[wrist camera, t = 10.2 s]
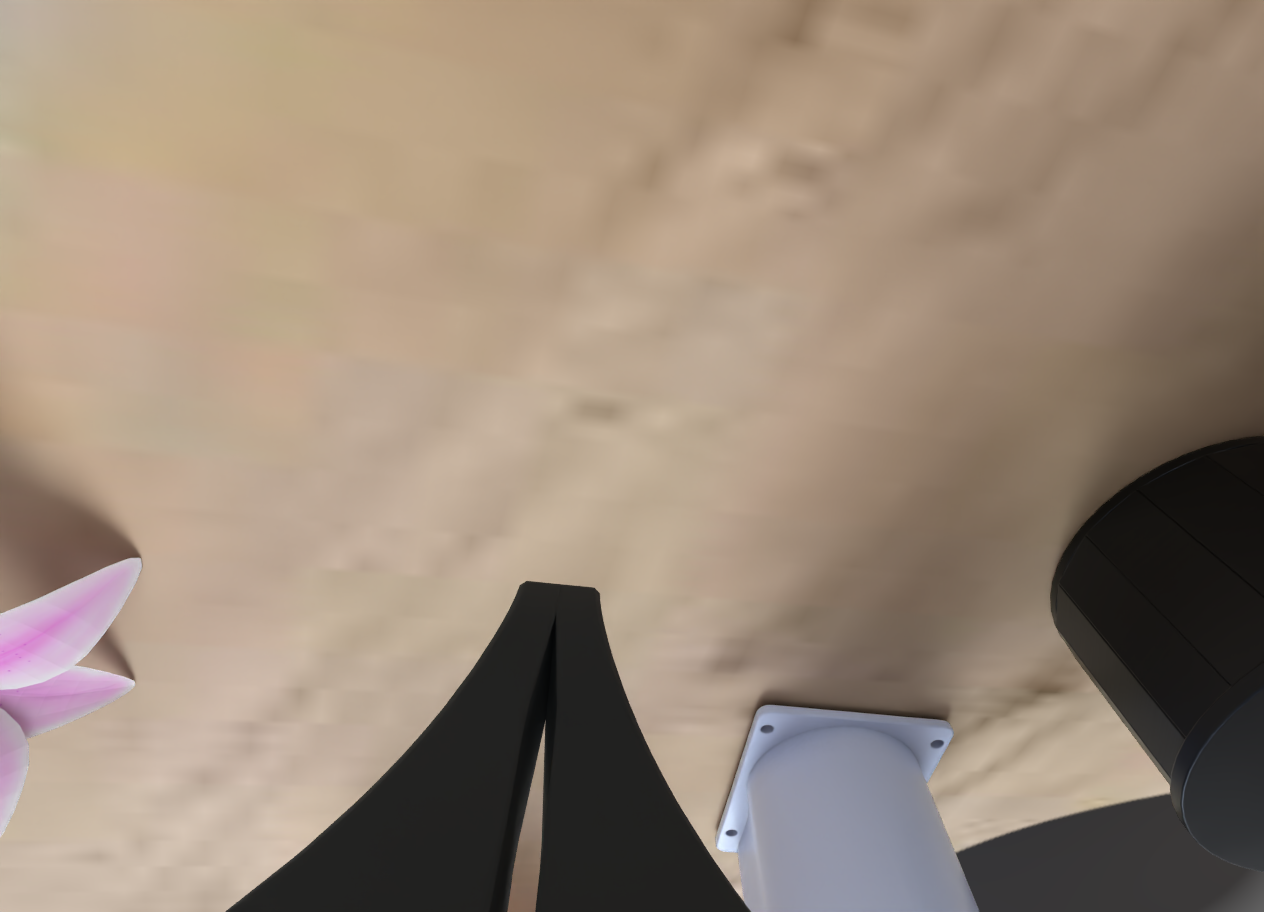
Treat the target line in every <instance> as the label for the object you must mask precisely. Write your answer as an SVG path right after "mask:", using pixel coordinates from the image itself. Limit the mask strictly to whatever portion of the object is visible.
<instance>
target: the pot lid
mask: <svg viewBox="0 0 1264 912" xmlns="http://www.w3.org/2000/svg"><path fill="white" fill-rule="evenodd" d="M1170 792H1171V798H1172V804H1173V807H1174V809H1175V811H1176V813H1177V816H1178V818H1179V819H1180V821H1181V822H1182V824H1183V825H1184V826H1185V828H1186V829H1187V830H1188V832H1189V833H1190V834H1191V835H1192V837H1193V838H1194V839H1195V840H1196V842H1197V843H1198V844H1200V845H1201V846H1202V847H1204V848H1205V849H1206V850H1207V851H1209V852H1210V853H1211V854H1213V855H1215V856H1217V857H1219V858H1220V859H1222V860H1224V861H1226V862H1229V863H1232V864H1235V865H1237V866H1240V867H1243V868H1247V869H1252V870H1256V871H1261V872H1264V661H1263V662H1261V663H1260V664H1259V665H1257V666H1256V667H1255V668H1253V669H1252V670H1251V671H1249V672H1248V673H1247V674H1245V675H1244V676H1243V677H1241V678H1240V679H1239V680H1238V681H1237V682H1235V683H1234V684H1233V685H1232V686H1231V687H1230V688H1229V689H1228V690H1227V691H1225V692H1224V693H1223V694H1222V695H1221V696H1220V697H1219V698H1218V699H1217V700H1216V701H1215V702H1214V703H1213V704H1212V705H1211V706H1210V707H1209V708H1208V710H1207V711H1206V712H1205V713H1204V714H1203V715H1202V716H1201V717H1200V718H1199V720H1198V721H1197V722H1196V724H1195V725H1194V727H1193V728H1192V730H1191V731H1190V732H1189V734H1188V735H1187V737H1186V738H1185V740H1184V742H1183V744H1182V746H1181V748H1180V750H1179V752H1178V754H1177V756H1176V759H1175V762H1174V766H1173V769H1172V772H1171V782H1170Z"/></svg>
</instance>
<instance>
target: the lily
mask: <svg viewBox="0 0 1264 912" xmlns="http://www.w3.org/2000/svg"><path fill="white" fill-rule="evenodd" d="M141 569H142V563H141V558H128V559H126V560H123V561H120V562H118V563H115V564H113V565H110V566H107V567H105V568H103V569H101V570H99V571H96V572H94V573H92V574H90V575H88V576H86V577H83V578H81V579H79V580H77V581H75V582H73V583H70V584H68V585H66V586H64V587H62V588H60V589H57V590H55V591H53V592H51V593H49V594H47V595H44V596H42V597H40V598H38V599H36V600H33V601H31V602H28V603H26V604H23V605H21V606H19V607H16V608H14V609H11V610H9V611H6V612H4V613H1V614H0V837H1V836H2V834H3V833H4V831H5V829H6V827H7V825H8V823H9V821H10V819H11V817H12V815H13V813H14V810H15V808H16V805H17V802H18V800H19V797H20V794H21V792H22V789H23V786H24V782H25V778H26V774H27V770H28V766H29V744H28V741H27V738H31V737H34V736H36V735H39V734H42V733H45V732H48V731H50V730H53V729H56V728H58V727H61V726H63V725H65V724H67V723H70V722H72V721H74V720H77V719H79V718H81V717H83V716H86V715H88V714H90V713H92V712H94V711H96V710H98V709H100V708H102V707H104V706H106V705H107V704H109V703H111V702H113V701H115V700H116V699H118V698H120V697H121V696H123V695H125V694H126V693H128V692H129V691H130V690H131V689H132V688H133V687H134V686H135V682H134V680H131V679H129V678H126V677H123V676H120V675H116V674H112V673H109V672H104V671H100V670H96V669H91V668H86V667H81V666H75V664H76V663H78V662H79V661H80V660H81V659H82V658H84V657H85V656H86V655H87V654H88V653H89V652H90V651H91V649H92V648H93V647H94V646H95V645H96V643H97V642H98V641H99V640H100V639H101V637H102V636H103V635H104V634H105V632H106V631H107V629H108V628H109V626H110V625H111V623H112V622H113V620H114V619H115V617H116V616H117V614H118V613H119V611H120V610H121V608H122V607H123V605H124V603H125V601H126V600H127V598H128V596H129V594H130V593H131V591H132V589H133V587H134V586H135V584H136V581H137V579H138V576H139V574H140V571H141Z"/></svg>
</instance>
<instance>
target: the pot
mask: <svg viewBox="0 0 1264 912" xmlns="http://www.w3.org/2000/svg"><path fill="white" fill-rule="evenodd" d="M1051 612H1052V616H1053V620H1054V624H1055V626H1056V628H1057V630H1058V632H1059V634H1060V636H1061V637H1062V639H1063V640H1064V641H1065V642H1066V644H1067V646H1068V647H1069V649H1070V650H1071V652H1072V654H1073V655H1074V657H1075V659H1076V660H1077V661H1078V663H1079V664H1080V665H1081V667H1082V668H1083V669H1084V671H1085V672H1086V673H1087V675H1088V676H1089V677H1090V679H1091V680H1092V681H1093V683H1094V684H1095V685H1096V687H1097V688H1098V689H1099V691H1100V692H1101V693H1102V695H1103V696H1104V697H1105V699H1106V700H1107V701H1108V703H1109V704H1110V705H1111V707H1112V708H1113V709H1114V711H1115V712H1116V713H1117V715H1118V716H1119V717H1120V719H1121V720H1122V722H1123V723H1124V724H1125V726H1126V727H1127V728H1128V730H1129V731H1130V732H1131V734H1132V735H1133V736H1134V738H1135V739H1136V740H1137V742H1138V743H1139V744H1140V746H1141V747H1142V748H1143V750H1144V751H1145V752H1146V754H1147V755H1148V756H1149V758H1150V759H1151V760H1152V762H1153V763H1154V764H1155V766H1156V767H1157V768H1158V770H1159V771H1160V772H1161V774H1162V775H1163V776H1164V778H1165V779H1166V780H1167V782H1168V783H1169V784H1170V782H1171V772H1172V769H1173V766H1174V762H1175V759H1176V756H1177V754H1178V752H1179V750H1180V748H1181V746H1182V744H1183V742H1184V740H1185V738H1186V737H1187V735H1188V734H1189V732H1190V731H1191V730H1192V728H1193V727H1194V725H1195V724H1196V722H1197V721H1198V720H1199V718H1200V717H1201V716H1202V715H1203V714H1204V713H1205V712H1206V711H1207V710H1208V708H1209V707H1210V706H1211V705H1212V704H1213V703H1214V702H1215V701H1216V700H1217V699H1218V698H1219V697H1220V696H1221V695H1222V694H1223V693H1224V692H1225V691H1227V690H1228V689H1229V688H1230V687H1231V686H1232V685H1233V684H1234V683H1235V682H1237V681H1238V680H1239V679H1240V678H1241V677H1243V676H1244V675H1245V674H1247V673H1248V672H1249V671H1251V670H1252V669H1253V668H1255V667H1256V666H1257V665H1259V664H1260V663H1261V662H1263V661H1264V436H1261V437H1250V438H1244V439H1238V440H1232V441H1228V442H1224V443H1220V444H1216V445H1212V446H1209V447H1205V448H1203V449H1200V450H1197V451H1194V452H1191V453H1189V454H1186V455H1183V456H1181V457H1179V458H1177V459H1175V460H1172V461H1170V462H1168V463H1166V464H1164V465H1161V466H1160V467H1158V468H1156V469H1154V470H1153V471H1151V472H1149V473H1147V474H1145V475H1144V476H1142V477H1140V478H1139V479H1137V480H1136V481H1134V482H1133V483H1131V484H1130V485H1128V486H1127V487H1126V488H1124V489H1123V490H1121V491H1120V492H1119V493H1117V494H1116V495H1115V496H1114V497H1113V498H1111V499H1110V500H1109V501H1108V502H1106V503H1105V504H1104V505H1103V506H1102V507H1101V508H1100V509H1099V510H1098V511H1097V512H1096V513H1095V514H1094V515H1093V516H1092V517H1091V518H1090V519H1089V520H1088V521H1087V522H1086V523H1085V524H1084V526H1083V527H1082V528H1081V529H1080V531H1079V532H1078V533H1077V534H1076V535H1075V537H1074V538H1073V540H1072V541H1071V543H1070V544H1069V546H1068V548H1067V549H1066V551H1065V552H1064V554H1063V557H1062V559H1061V561H1060V563H1059V565H1058V567H1057V570H1056V573H1055V576H1054V580H1053V583H1052V591H1051Z"/></svg>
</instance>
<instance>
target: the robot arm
mask: <svg viewBox="0 0 1264 912" xmlns="http://www.w3.org/2000/svg"><path fill="white" fill-rule="evenodd" d="M545 720H546V722H545ZM544 724H545V753H544V786H543V819H542V847H541V862H540V875H539V883H538V892H537V901H536V910H535V912H979V909H978V907H977V904H976V902H975V900H974V897H973V895H972V892H971V890H970V887H969V885H968V882H967V880H966V878H965V875H964V873H963V870H962V868H961V865H960V863H959V861H958V858H957V856H956V853H955V851H954V848H953V846H952V843H951V841H950V839H949V836H948V834H947V831H946V829H945V826H944V824H943V822H942V819H941V817H940V814H939V812H938V809H937V807H936V805H935V802H934V800H933V797H932V795H931V792H930V790H929V787H928V785H927V782H928V781H929V779H930V777H931V775H932V773H933V772H934V770H935V768H936V766H937V764H938V762H939V761H940V759H941V757H942V755H943V753H944V752H945V750H946V748H947V746H948V744H949V743H950V741H951V739H952V737H953V735H954V731H953V729H952V727H951V725H950V723H949V722H947V721H944V720H936V719H925V718H914V717H903V716H891V715H880V714H869V713H858V712H847V711H835V710H824V709H813V708H802V707H790V706H779V705H765V706H762V707H761V708H759V709H758V710H757V712H756V714H755V717H754V720H753V723H752V727H751V730H750V733H749V736H748V739H747V742H746V745H745V748H744V751H743V754H742V757H741V760H740V763H739V766H738V770H737V773H736V776H735V779H734V782H733V785H732V788H731V791H730V794H729V797H728V800H727V803H726V806H725V810H724V813H723V816H722V819H721V822H720V825H719V828H718V831H717V834H716V837H715V841H716V847H717V848H718V849H719V850H721V851H725V852H737V853H738V860H739V867H740V875H741V882H742V889H743V897H744V902H743V900H742V899H741V898H740V896H739V895H738V894H737V892H736V891H735V890H734V888H733V887H732V885H731V884H730V882H729V881H728V880H727V878H726V877H725V875H724V874H723V872H722V871H721V870H720V868H719V867H718V865H717V864H716V862H715V861H714V860H713V858H712V857H711V855H710V854H709V852H708V850H707V849H706V847H705V846H704V844H703V842H702V841H701V839H700V838H699V836H698V834H697V833H696V831H695V830H694V828H693V827H692V825H691V823H690V822H689V820H688V819H687V817H686V815H685V814H684V812H683V811H682V809H681V807H680V806H679V804H678V802H677V801H676V799H675V797H674V795H673V793H672V791H671V790H670V788H669V786H668V784H667V782H666V781H665V779H664V777H663V775H662V773H661V771H660V769H659V767H658V765H657V763H656V761H655V759H654V758H653V756H652V754H651V752H650V749H649V747H648V745H647V743H646V741H645V739H644V737H643V734H642V732H641V730H640V728H639V726H638V723H637V721H636V718H635V716H634V714H633V711H632V709H631V706H630V704H629V701H628V699H627V696H626V694H625V691H624V688H623V686H622V683H621V680H620V677H619V674H618V671H617V668H616V665H615V662H614V659H613V656H612V653H611V649H610V646H609V642H608V638H607V634H606V631H605V626H604V622H603V617H602V612H601V604H600V593H599V592H598V591H597V590H596V589H595V588H592V587H582V586H572V585H561V584H551V583H541V582H531V581H526V582H524V583H523V584H521V585H520V587H519V589H518V592H517V594H516V597H515V599H514V601H513V603H512V605H511V607H510V609H509V611H508V613H507V615H506V617H505V618H504V620H503V622H502V624H501V625H500V627H499V629H498V630H497V632H496V634H495V635H494V637H493V639H492V640H491V642H490V643H489V645H488V646H487V648H486V649H485V651H484V652H483V654H482V656H481V657H480V659H479V660H478V662H477V663H476V665H475V666H474V668H473V669H472V670H471V672H470V673H469V675H468V676H467V677H466V679H465V680H464V681H463V683H462V684H461V685H460V687H459V688H458V689H457V691H456V692H455V693H454V695H453V696H452V697H451V699H450V700H449V701H448V703H447V704H446V705H445V707H444V708H443V709H442V710H441V712H440V713H439V714H438V715H437V716H436V718H435V719H434V720H433V721H432V722H431V724H430V725H429V726H428V727H427V728H426V730H425V731H424V732H423V733H422V734H421V735H420V736H419V738H418V739H417V740H416V741H415V742H414V743H413V744H412V745H411V747H410V748H409V749H408V750H407V751H406V752H405V753H404V754H403V755H402V756H401V757H400V758H399V760H398V761H397V762H396V763H395V764H394V765H393V766H392V767H391V768H390V769H389V770H388V771H387V772H386V773H385V774H384V775H383V776H382V777H381V778H380V779H379V780H378V781H377V782H376V783H375V784H374V785H373V786H372V787H371V788H370V789H369V790H368V791H367V792H366V793H365V794H364V795H363V796H362V797H361V798H360V799H359V800H358V801H357V802H356V803H355V804H354V805H353V806H351V807H350V808H349V809H348V810H347V811H346V812H345V813H344V814H343V815H341V816H340V817H339V818H338V819H337V820H336V821H335V822H334V823H333V824H331V825H330V826H329V827H328V828H327V829H326V830H325V831H324V832H323V833H321V834H320V835H319V836H318V837H317V838H316V839H315V840H314V841H313V842H311V843H310V844H309V845H308V846H307V847H306V848H305V849H303V850H302V851H301V852H300V853H299V854H297V855H296V856H295V857H294V858H293V859H291V860H290V861H289V862H288V863H286V864H285V865H284V866H283V867H281V868H280V869H279V870H278V871H276V872H275V873H274V874H272V875H271V876H270V877H269V878H267V879H266V880H265V881H264V882H262V883H261V884H260V885H259V886H257V887H256V888H255V889H253V890H252V891H251V892H250V893H248V894H247V895H246V896H245V897H243V898H242V899H241V900H240V901H238V902H237V903H236V904H234V905H233V906H232V907H231V908H229V909H228V910H227V911H226V912H507V910H508V903H509V896H510V889H511V882H512V874H513V868H514V862H515V857H516V852H517V846H518V841H519V836H520V832H521V827H522V823H523V819H524V814H525V810H526V805H527V801H528V796H529V792H530V787H531V783H532V778H533V774H534V769H535V765H536V760H537V756H538V751H539V747H540V742H541V738H542V733H543V729H544Z"/></svg>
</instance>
